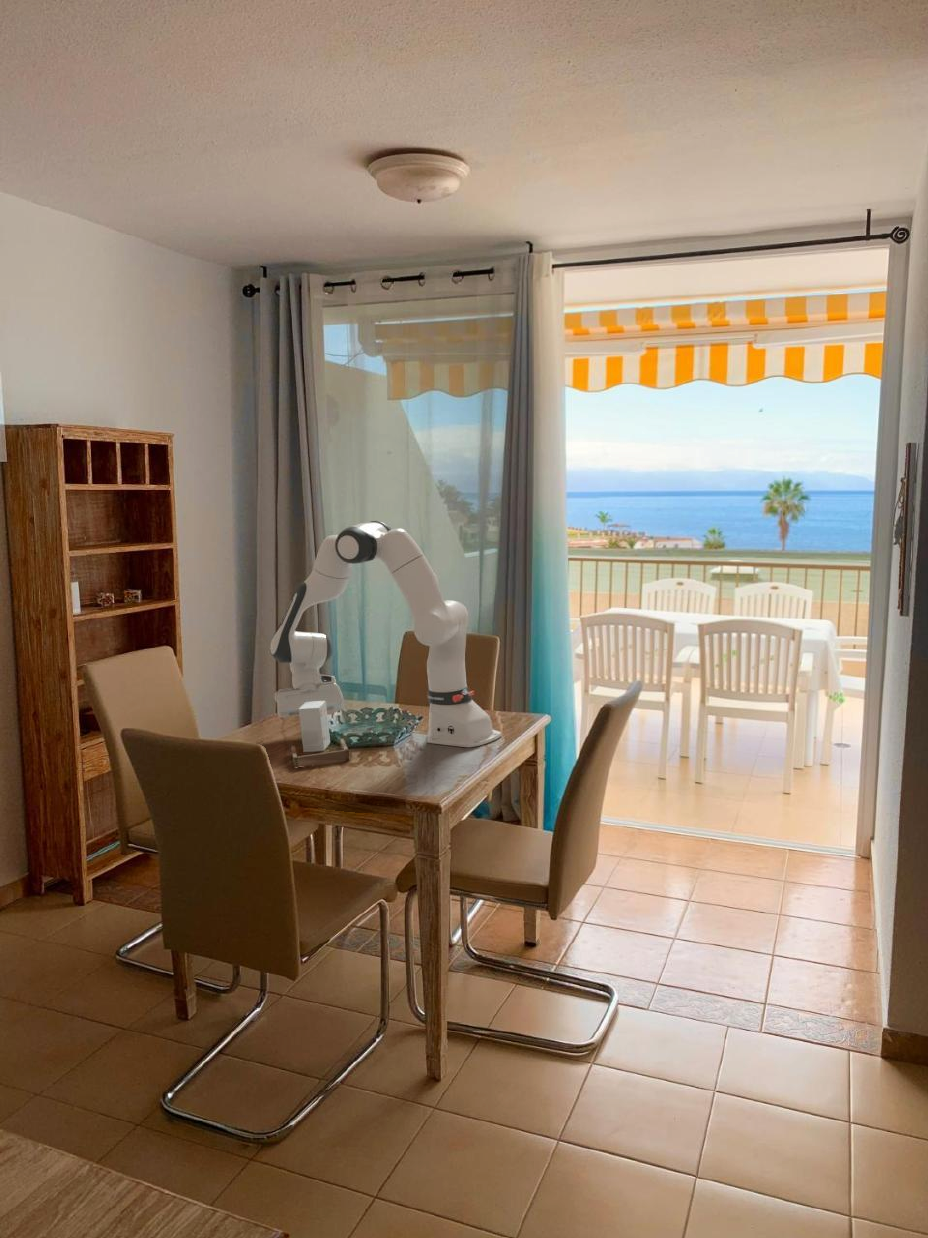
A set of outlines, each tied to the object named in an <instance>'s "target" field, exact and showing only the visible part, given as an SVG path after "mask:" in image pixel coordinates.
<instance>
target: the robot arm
mask: <svg viewBox="0 0 928 1238" xmlns="http://www.w3.org/2000/svg"><path fill="white" fill-rule="evenodd" d="M376 559H378V560H380V561H382V562H383V563H384V565H385V566H386V568H387V570H388V571H389V573H390V575H391V577H392V578H393V580H394V581H395V584H396V585H397V587H398V589H399V590H400V592H401V594H402V596H403V597H404V600H405V601H406V604H407V608H408V610H409V614H410V617H411V619H412V622H413V634H414V636H415V638H416V640H417V641H418V642H419V643H420V644H422V645H424V646H427V647H429V649H428V650H429V651H428V657H427V661H426V673H427V682H428V689H427V698H428V699H427V701H428V703H429V713H428V732H427V739H426V740H427V741H426V742H427V743H428V744H437V745H442V746H443V745H445V746H453V747H461V748H462V747H463V748H473V747H478V746H483V745H486V744H489V743H491V742H494V741H496V740H497V739H499V738H500V737H501V736H502V732H501V731H498V730H495V729H494V728H493V724H492V720H491V717H490V715H489V714H488V713H487V712H486V711H484V710H483V708H481V706H479V704H477V703H476V702H475V701H474V700H473V695H475V693H474V692H475V690H470V688H469V686H468V685H467V677H466V676H467V675H466V674H467V673H466V661H465V660H466V658H465V657H466V656H465V655H466V646H467V627H468V622H469V612H468V610H467V609H468V608H466V606H465V605H464V604H463V603H462V602H459V601H456V600H452V599H451V600H450V599H449V600H448V599H445V600H444V598H443V595H442V592H441V589H440V586H439V579H438V576H437V574H436V573H435V571H434V570H433V568H432V566H431V564H430V563H429V561H428V559H427V557H426V556H425V554H424V552H423V551H422V549H421V548H420V546H419V545H418V543H417V542H416V541H415V539H413V537H412V536H411V535H410V534H409V533H408V532H407V531H406V530H405V529H403V528H391V527H390V526H389V525H388V524H387V523H385V522H382V521H380V520H379V521H378V520H373V521H372V520H371V521H369V522H361V523H358V524H357V523H356V524H354V525H352V526H349V527H346V528H345V529H343V530H342V531H340V532H339V534H332V535H331V534H330V535H328V536H327V537H325V538H324V539H323V541H322V543H321V544H320V547H319V550H318V551H317V554H316V558H315V561H314V565H313V568H312V571H311V573H310V574H309V576H308V577H307V578H306V579H305V580H304V581H303V582H301V583H299V584H298V585H297V587H296V588H295V590H294V591H293V594H292V595H291V598H290V600H289V603H288V605H287V607H286V610H285V611H284V614H283V616H282V619H281V621H280V623H279V626H278V627H277V629H276V631H275V632H274V634H273V636H272V638H271V641H270V647H269V650H270V654H271V656H272V657H273V659H274V660H275V661H277V662H278V663H279V664H289V668H290V672H291V674H292V675H291V682H292V687H288V688H283V689H282V688H280V689H278V690H277V691H275V693H274V695H273V697H274V701H275V702H276V707H277V711H276V712H277V716H278V717H280V718H282V719H283V718H290V717H297V716H298V717H299V710H298V709H299V708H300V707H301V706H302V705H303V704H304V703H305V702H312V701H326V708H327V712H331V711H339V710H342V709H343V708H344V706H345V700H344V695H343V693H342V690H341V687H340V686H339V685H338V684H337V680H336V677H335V676H334V675H329V674H327V675H325V674H321V673H320V668H322V667H323V666H325V665H326V664H327V663H328V661H330V660H331V657H332V653H333V649H332V648H333V647H332V643H331V640H330V638H329V636H328V635H326V634H325V633H320V632H311V631H308V632H307V631H296V628H297V627H298V625H299V622H300V620H301V618H302V615H303V614H304V612H305V611H306V610H307V609H308V608H311V607H312V606H315V605H317V604H321V603H325V602H330V601H333V600H335V599H337V598H338V597H340V596H342V594H344V592H345V591H346V588H347V586H348V585H349V584H348V583H349V580H350V577H351V574H352V573H351V572H352V568H353V565H354V564H357V565H358V564H363V563H365V562H371V561H373V560H376Z"/></svg>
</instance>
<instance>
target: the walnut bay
mask: <svg viewBox="0 0 928 1238" xmlns="http://www.w3.org/2000/svg"><path fill="white" fill-rule="evenodd" d="M339 741H340V750H333V751H325V752H319V753H318V752H317V753H313V754H306V755H300V756H298V755H297V750H296V745H295V744H294V745H290V749H291V758H292V757H293V758H292V761H293V766H295V767H299V766H310V767H313V766H312V765H317V766H323V765H329V764H336V763H341V762H346V761H350V754H349V749H348V745H347V744H346V741H345V739H344V738H343V737H342V738H339ZM295 767H294V768H295Z"/></svg>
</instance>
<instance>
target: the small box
mask: <svg viewBox="0 0 928 1238" xmlns="http://www.w3.org/2000/svg"><path fill="white" fill-rule="evenodd" d="M298 710H299V715H298V717H299V725H300V732H301V733H300V734H301V741H302V742H301V743H302V749H303V750H302V751H303V753H310V752H313V753H314V752H324V751H325V750H326V748H327V747H328V746H329V745H330V743H331V737H330V730H329V728H330V727H329V719H328V711H327V708H326V701H312V702H305V703H304V704H303V705H302V706H301V707H300V708H299V709H298Z"/></svg>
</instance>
